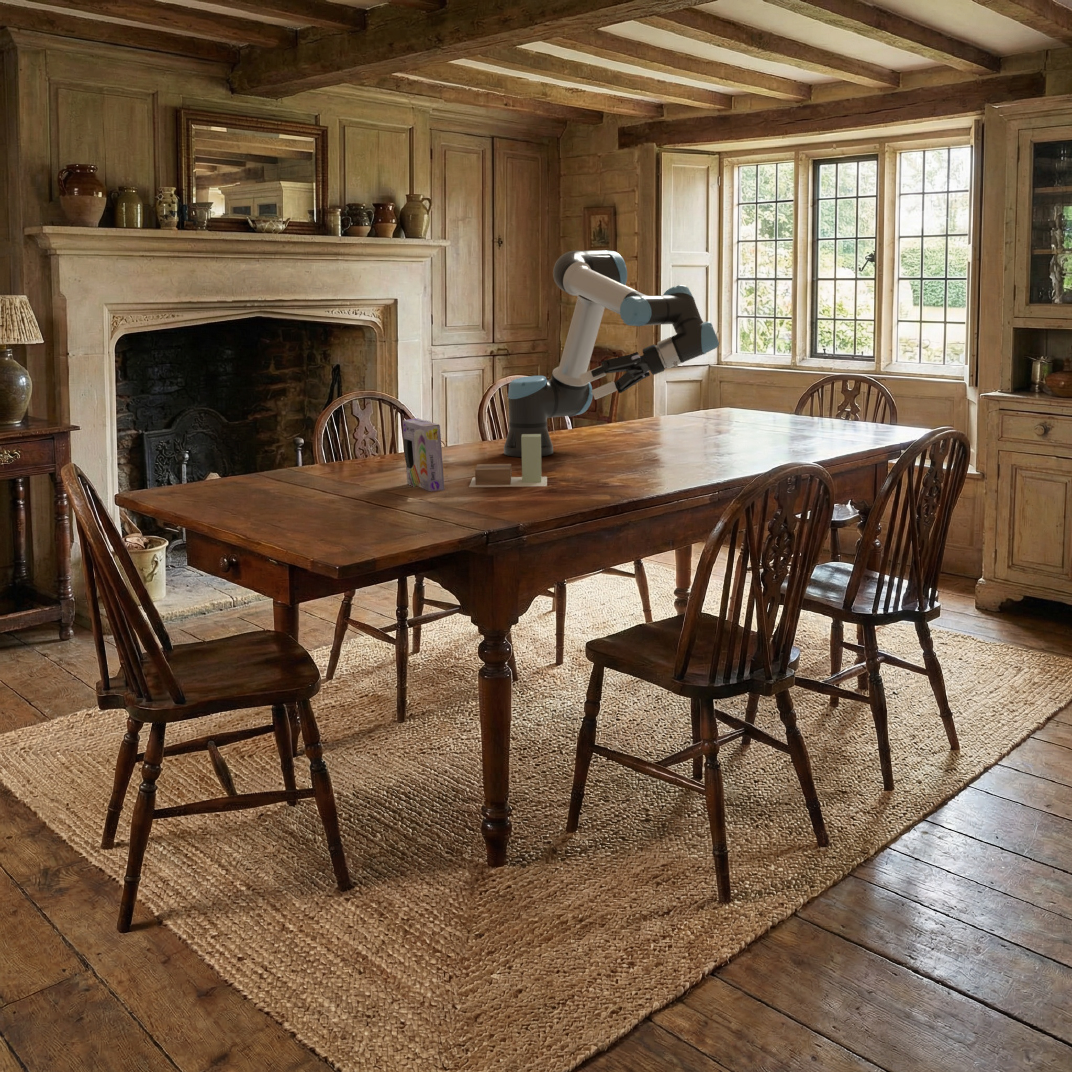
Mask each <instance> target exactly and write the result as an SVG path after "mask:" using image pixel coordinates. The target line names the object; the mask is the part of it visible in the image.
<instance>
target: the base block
mask: <svg viewBox="0 0 1072 1072" xmlns="http://www.w3.org/2000/svg"><path fill="white" fill-rule="evenodd" d="M474 472H475V473H474V477H475V485H510V484H511V477H512V463H478V464H476V467H475V469H474Z"/></svg>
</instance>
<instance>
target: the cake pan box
mask: <svg viewBox="0 0 1072 1072" xmlns="http://www.w3.org/2000/svg"><path fill="white" fill-rule="evenodd" d="M402 432H403V441H404V442H403V451H404V459H405V467H406V468H405V469H406V472H405V473H406V485H408V484H409V485H408V486H410V485H411V486H410V487H412V486H413V488H416V486H417V487H420V488H421V489H423V490H425V491H427V492H438V491H445V479H444V478H445V477H444V466H443V465H444V464H443V463H444V462H443V449H442V448H443V447H442V436H441V435H442V434H441V425H440V424H437V423H435V422H432V421H429V420H426V419H421V418H418V417H416V418H409V419H404V420H402Z"/></svg>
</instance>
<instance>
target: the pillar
mask: <svg viewBox="0 0 1072 1072" xmlns="http://www.w3.org/2000/svg"><path fill="white" fill-rule="evenodd" d="M521 444H522V457H521V477H522V483H525V482H541V477H542V456H541V434H522V436H521Z"/></svg>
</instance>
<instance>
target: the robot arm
mask: <svg viewBox="0 0 1072 1072" xmlns="http://www.w3.org/2000/svg"><path fill="white" fill-rule="evenodd" d="M552 269H553V270H552V271H553V272H552V275H553V277H552V278H553V280H554V283H555V285H556V286H557V287H558V288H559V289H560V290H561V291H563V292H564V293H566V294H569V295H570V296H574V297H575V296H576V297H577V298H576V302H575V306H574V310H573V314H572V317H571V321H570V325H569V328H568V333H567V336H566V339H565V344H564V347H563V350H562V351H563V352H562V354H561V359H560V362H559V366H557V367H555V368H554V369H552V373H551V376H550V379H547V376H544V375H531V376H522V377H519V378H515V379H513V380H511V381H510V383H509V384H508V394H507V398H508V423H509V424H508V432H507V436H506V439H505V442H504V446H503V455H505V456H509V457H515V458H516V457H517V458H522V444H521V436H522V434H541V457H546V456H551V455H552V454H554V447H553V442H552V439H551V437H550V434H549V431H548V430H549V429H548V419H549V418H559V417H560V418H561V417H574V416H577V415H582V414H584V413H586V411H587V410H588V409H589V408H590V406H591V404H592V402H593V401H592V400H593V399H594V400H598V399H600V398H604V397H605V396H608V395H609V394H612V393H615V392H618V394H621V393H623V392H625V391H626V390H629V389H630V388H631V387H633V386H634V385H637V383H639V382H640V381H642V380H643V379H646V378H648V377H650V375H651V374H652V375H653V376H655V375H657V374H660V373H662V372H665V370H666V369H671V368H673V367H675V368H677V367H678V366H679V365H680V364H682V363H686V362H687V361H688V362H689V361H690V360H692V359H694V358H698V357H700V356H703V355H706V354H707V353H709V352H711V351H713V350H716V349H717V348H718V347H719V345H720V341H719V339H718V336H717V334H716V331H715V328H714V327H713V324H712V322H711V321H709V320H707V321H703V320H702V318H701V314H700V312H699V309H698V306H697V304H696V300H695V298H694V296H693V294H692V292H691V291H690V289H689V287H688V286H687V285H685V284H678V285H676V286H672V287H670V288H668V289H667V290H666V291H664V293H663V294H662V295H647V294H644V293H642V292H640V291H638V290H635V289H634V288H632V287H629V286H628V285H627V281H628V268H627V264H626V262H625V260H624V258H623V256H621V254H620V253H618V252H617V251H614V250H606V249H602V250H578V249H577V250H570V251H567V252H565V253H563V254H562V255H560V257H559V258H557V260H556V261H555V263H554V266H553V268H552ZM605 309H608V310H609V311H611V312H614V313H616V314H618V315H620V319H621V320H622V321H623V324H624V325H627V326H630V327H631V326H635V327H643V326H657V325H659V326H660V325H672V327H673V329H674V331H675V335H672V336H669V337H668V338H665V339H662V340H660V341H657V345H656V344H651V345H648V346H646V347H644V348H643V349H642V353H643V354H642V355H640V354H639V352H638V351H635V352H633V353H630V354H627V355H622V356H618V357H613V358H608V359H605V360H602V361H601V362H600V364H601V365H600V366H597V367H595V368H593V369H591V370H588V369H589V365H590V361H591V358H592V354H593V351H594V348H595V343H596V340H597V337H598V333H599V330H600V326H601V322H602V319H603V316H604V313H605ZM622 372H624V374H623V375H622V376H620V377H619V378H618V379H617V380H616V381H615V380H614V381H615V382H614V381H613V380H612V381H610V382H607V383H605V384H603V385H600V386H599V387H596V388H594V389H593V386H592V384H591V383H593V381H596V380H599V379H601V378H604V377H605V376H607V374H614V373H622ZM650 373H651V374H650Z"/></svg>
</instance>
